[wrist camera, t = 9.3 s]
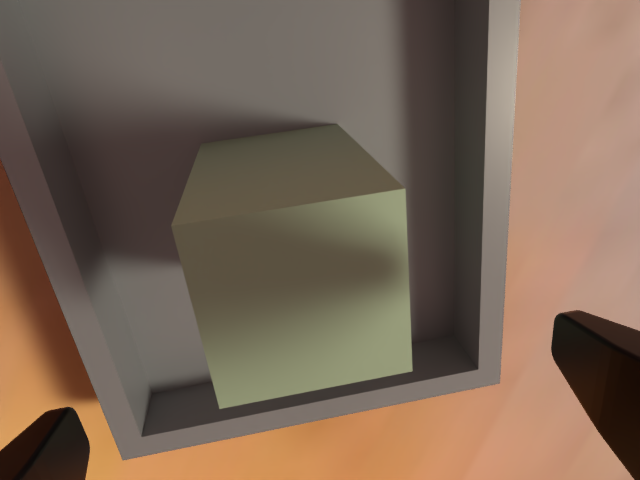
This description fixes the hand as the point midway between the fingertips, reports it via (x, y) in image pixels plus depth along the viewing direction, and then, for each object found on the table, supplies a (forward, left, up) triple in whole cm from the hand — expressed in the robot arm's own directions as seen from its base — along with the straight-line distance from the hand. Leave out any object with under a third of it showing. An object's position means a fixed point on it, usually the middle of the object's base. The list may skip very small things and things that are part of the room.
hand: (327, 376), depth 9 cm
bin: (0, 0, -12) cm, 12 cm away
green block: (0, 0, -10) cm, 11 cm away
